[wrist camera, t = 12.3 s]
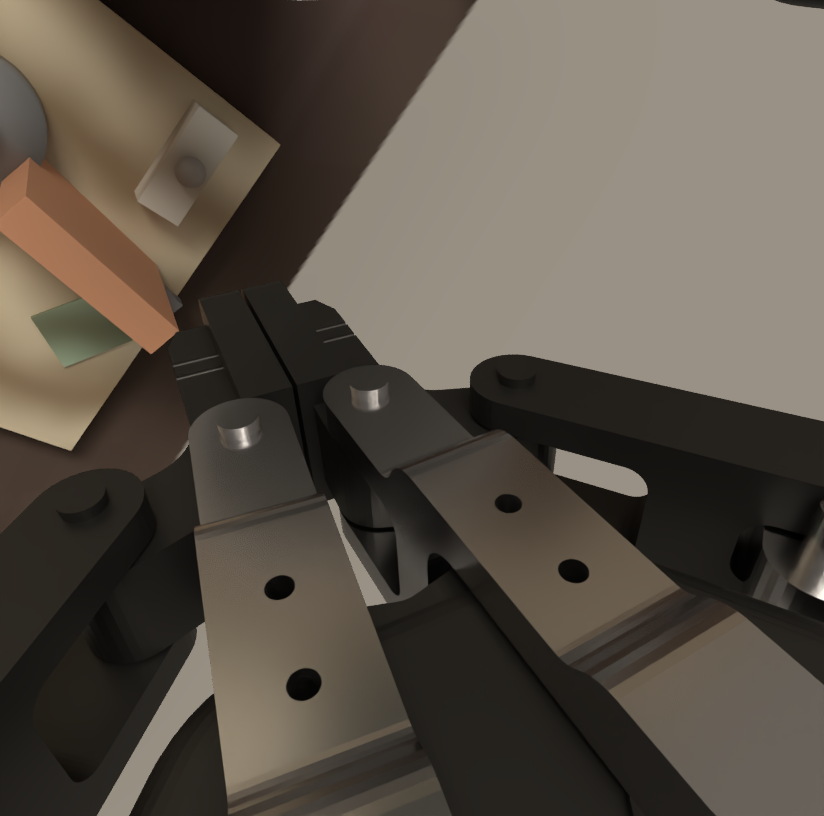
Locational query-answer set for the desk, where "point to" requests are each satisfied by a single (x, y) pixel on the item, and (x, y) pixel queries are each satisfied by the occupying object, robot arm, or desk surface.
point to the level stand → (110, 197)
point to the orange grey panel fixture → (73, 225)
